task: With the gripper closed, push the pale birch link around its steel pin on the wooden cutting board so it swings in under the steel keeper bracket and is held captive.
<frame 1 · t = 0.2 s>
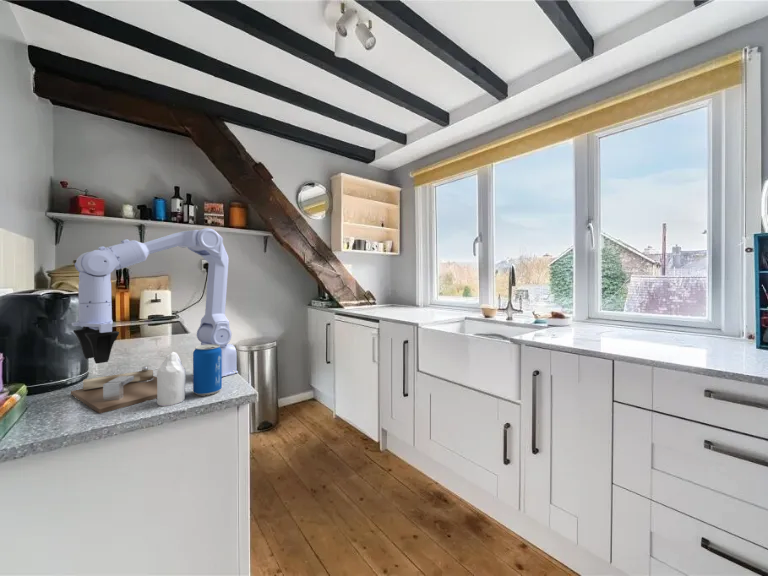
hand: (96, 360, 75), 10 cm above the countertop, tool pointing down, fingers open, 7 cm apart
keeper: (145, 383, 88), resting on wooden cutting board
beverage can: (207, 393, 82), on the countertop
wooden cutting board: (128, 393, 81), on the countertop
link: (120, 379, 85), point 2 cm above the countertop, hinge at -60.0°
white bottle: (171, 402, 76), on the countertop
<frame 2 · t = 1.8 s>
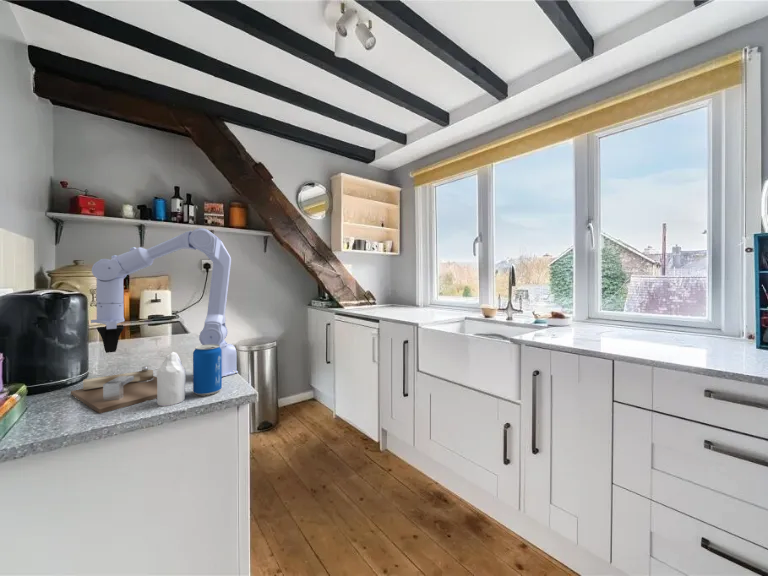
hand: (110, 351, 88), 9 cm above the countertop, tool pointing down, fingers closed
nothing on the countertop moved.
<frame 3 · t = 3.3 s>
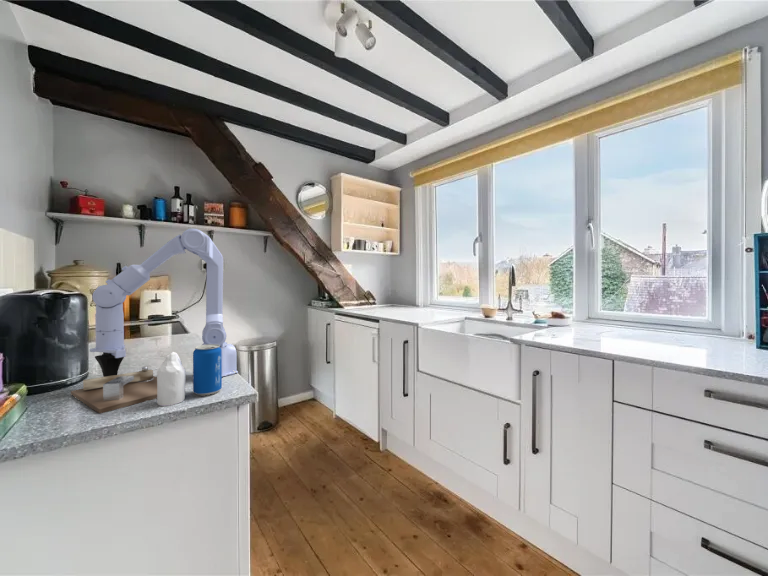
hand: (110, 380, 85), 2 cm above the countertop, tool pointing down, fingers closed, pressing on link
link: (120, 379, 85), point 2 cm above the countertop, hinge at -58.3°, touching gripper
everything else where it was.
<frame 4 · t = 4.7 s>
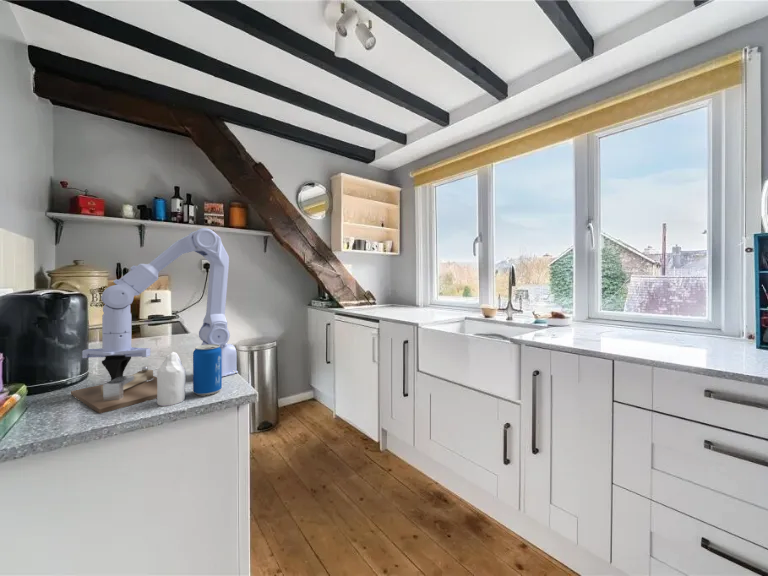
hand: (117, 385, 81), 2 cm above the countertop, tool pointing down, fingers closed, pressing on link
link: (130, 381, 83), point 2 cm above the countertop, hinge at -11.5°, touching gripper
everything else where it was.
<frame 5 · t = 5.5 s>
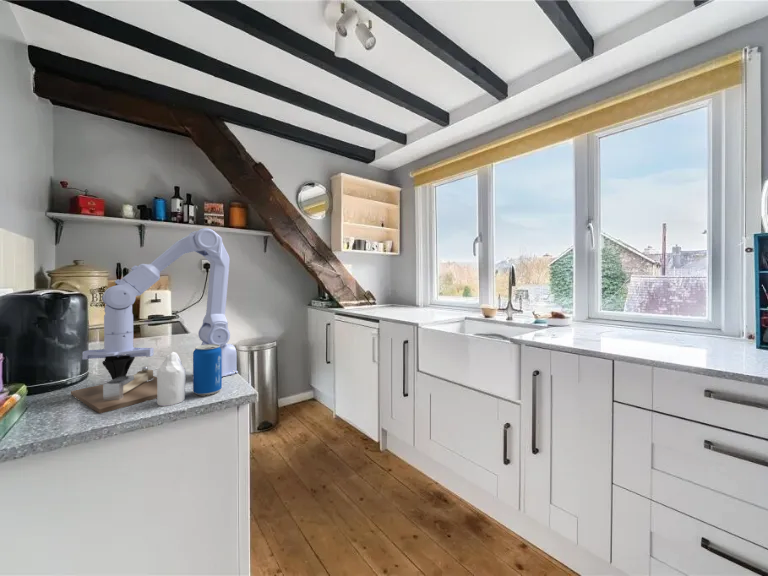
hand: (119, 385, 81), 2 cm above the countertop, tool pointing down, fingers closed
link: (133, 381, 83), point 2 cm above the countertop, hinge at -1.7°, touching gripper
everything else where it was.
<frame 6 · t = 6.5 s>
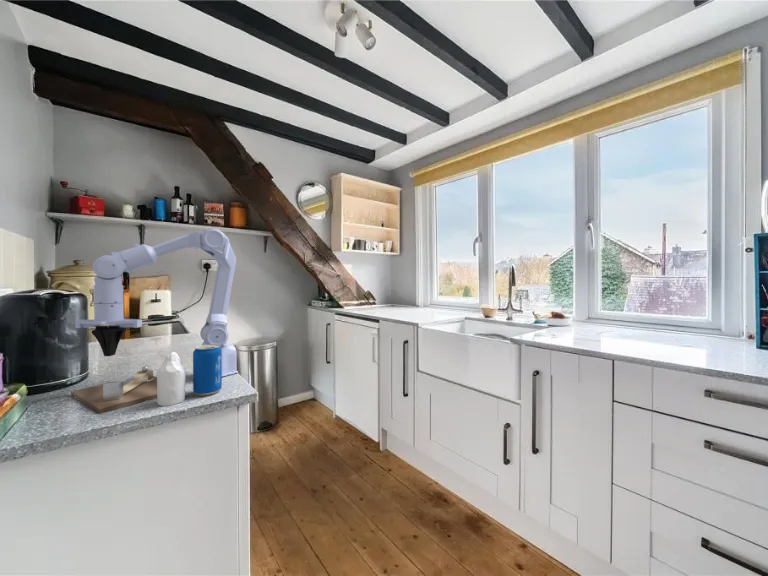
hand: (109, 355, 82), 9 cm above the countertop, tool pointing down, fingers closed
link: (133, 381, 83), point 2 cm above the countertop, hinge at -1.5°
everything else where it was.
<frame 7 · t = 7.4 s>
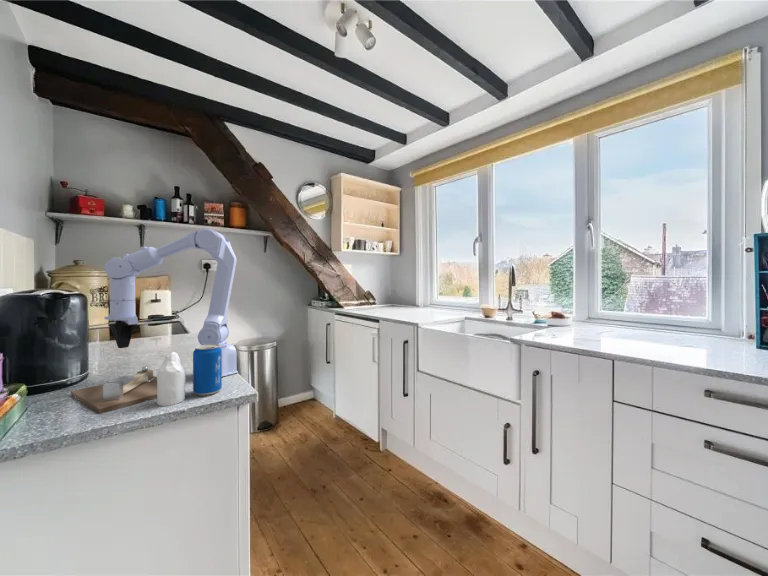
hand: (123, 347, 91), 9 cm above the countertop, tool pointing down, fingers closed
nothing on the countertop moved.
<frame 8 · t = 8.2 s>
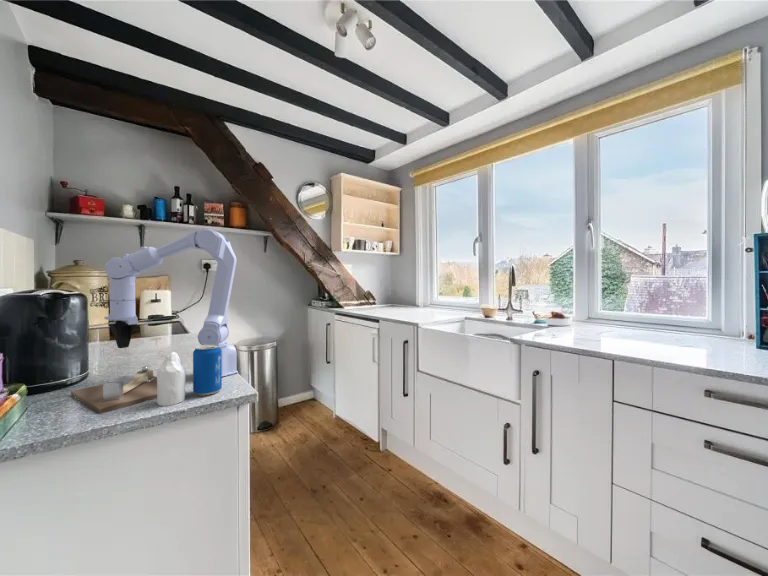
hand: (123, 347, 91), 9 cm above the countertop, tool pointing down, fingers closed
nothing on the countertop moved.
at the end: link at -2° (first picture: -60°); the gripper is holding nothing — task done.
